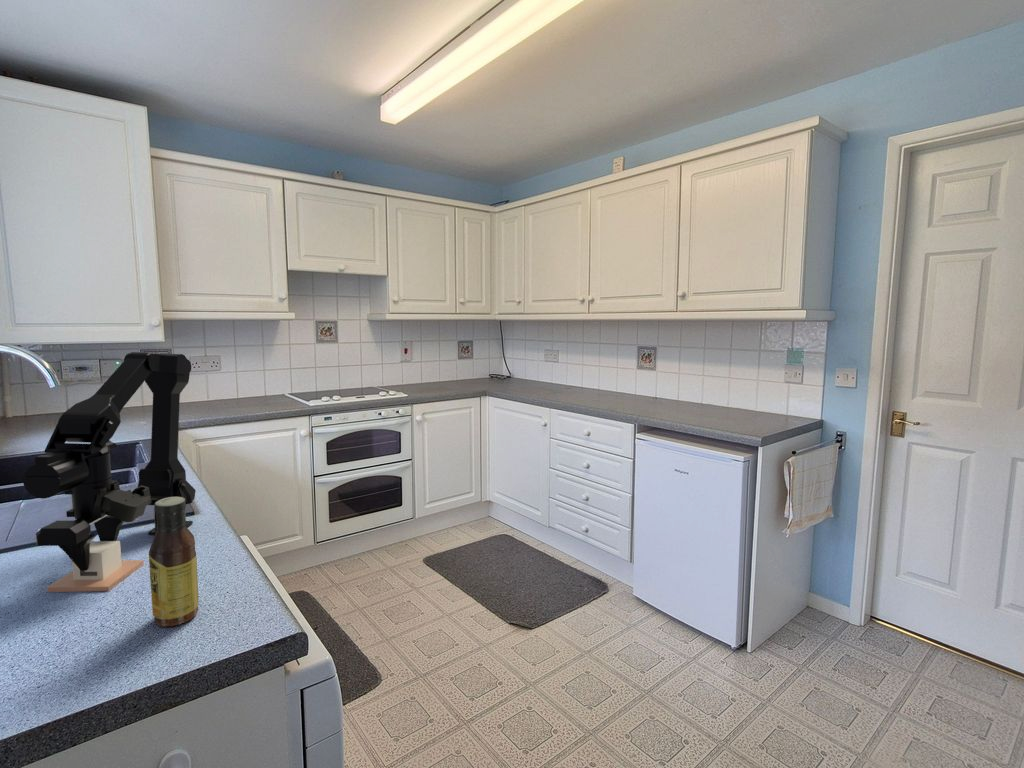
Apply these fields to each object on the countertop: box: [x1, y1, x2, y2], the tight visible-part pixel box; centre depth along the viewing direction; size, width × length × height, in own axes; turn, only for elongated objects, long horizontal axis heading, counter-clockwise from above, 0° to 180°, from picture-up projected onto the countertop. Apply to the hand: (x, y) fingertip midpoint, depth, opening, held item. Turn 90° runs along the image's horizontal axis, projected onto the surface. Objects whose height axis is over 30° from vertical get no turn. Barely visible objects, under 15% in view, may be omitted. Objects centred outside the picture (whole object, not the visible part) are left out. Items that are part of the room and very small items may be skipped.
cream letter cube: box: [71, 540, 122, 580], centre depth 95 cm, size 5×5×5 cm
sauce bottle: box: [148, 497, 199, 628], centre depth 82 cm, size 6×6×20 cm
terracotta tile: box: [46, 559, 144, 593], centre depth 96 cm, size 10×10×1 cm
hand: (97, 561), depth 95 cm, fingers open, 6 cm apart
